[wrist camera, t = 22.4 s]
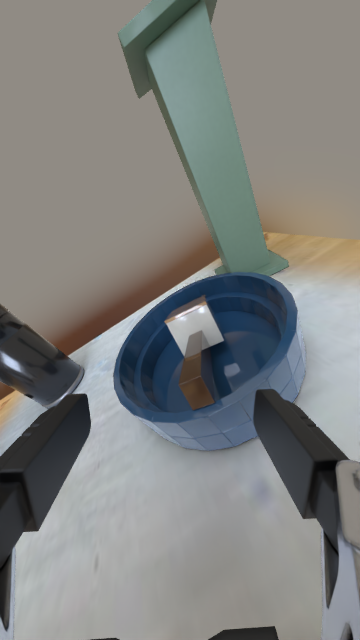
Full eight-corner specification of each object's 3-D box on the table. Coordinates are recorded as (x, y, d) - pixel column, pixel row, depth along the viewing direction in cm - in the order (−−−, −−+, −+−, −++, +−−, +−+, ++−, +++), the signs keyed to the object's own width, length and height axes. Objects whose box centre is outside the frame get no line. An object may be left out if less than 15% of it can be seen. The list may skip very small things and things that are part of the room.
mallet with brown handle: (240, 394, 13) (206, 327, 12) (170, 418, 14) (134, 359, 13) (220, 326, 29) (205, 294, 28) (187, 340, 30) (172, 310, 29)
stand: (290, 267, 32) (226, -71, 15) (229, 296, 34) (117, 32, 18) (261, 249, 42) (202, 33, 25) (215, 273, 44) (135, 90, 28)
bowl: (125, 378, 31) (98, 354, 28) (211, 297, 37) (197, 269, 34) (211, 523, 14) (166, 506, 10) (348, 328, 19) (348, 276, 16)
